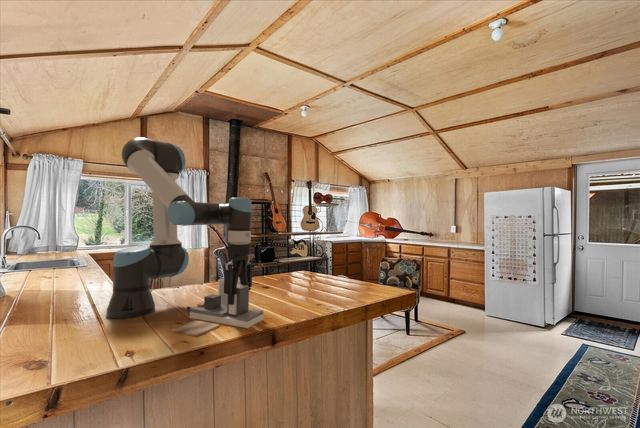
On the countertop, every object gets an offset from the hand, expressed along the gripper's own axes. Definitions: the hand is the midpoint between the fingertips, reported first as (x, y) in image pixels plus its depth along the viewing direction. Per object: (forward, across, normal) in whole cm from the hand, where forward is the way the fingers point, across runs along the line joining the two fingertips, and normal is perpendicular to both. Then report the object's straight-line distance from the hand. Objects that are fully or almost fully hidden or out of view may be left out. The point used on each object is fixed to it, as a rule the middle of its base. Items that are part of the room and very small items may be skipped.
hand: (237, 311), depth 111 cm
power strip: (+3, 0, +5) cm, 6 cm away
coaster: (+3, -12, +7) cm, 14 cm away
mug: (+4, +12, +13) cm, 18 cm away
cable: (+3, +2, +21) cm, 21 cm away
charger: (+1, 0, 0) cm, 1 cm away
